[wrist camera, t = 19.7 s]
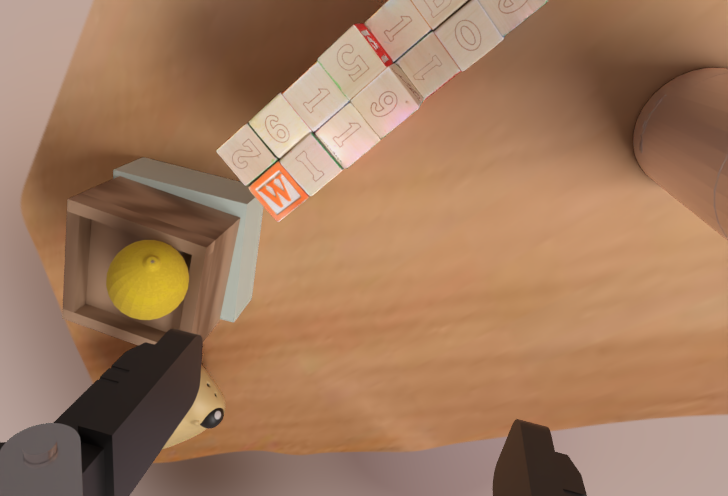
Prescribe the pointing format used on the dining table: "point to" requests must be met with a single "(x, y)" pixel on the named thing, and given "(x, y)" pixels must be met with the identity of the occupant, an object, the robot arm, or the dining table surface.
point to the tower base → (218, 196)
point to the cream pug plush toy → (200, 411)
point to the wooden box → (136, 223)
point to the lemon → (147, 280)
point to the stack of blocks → (362, 93)
